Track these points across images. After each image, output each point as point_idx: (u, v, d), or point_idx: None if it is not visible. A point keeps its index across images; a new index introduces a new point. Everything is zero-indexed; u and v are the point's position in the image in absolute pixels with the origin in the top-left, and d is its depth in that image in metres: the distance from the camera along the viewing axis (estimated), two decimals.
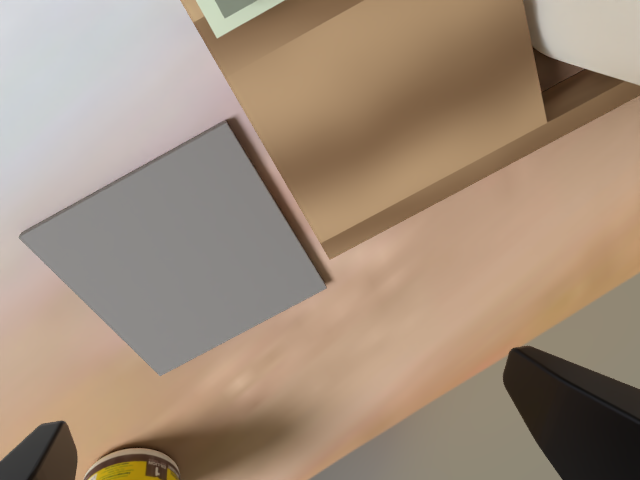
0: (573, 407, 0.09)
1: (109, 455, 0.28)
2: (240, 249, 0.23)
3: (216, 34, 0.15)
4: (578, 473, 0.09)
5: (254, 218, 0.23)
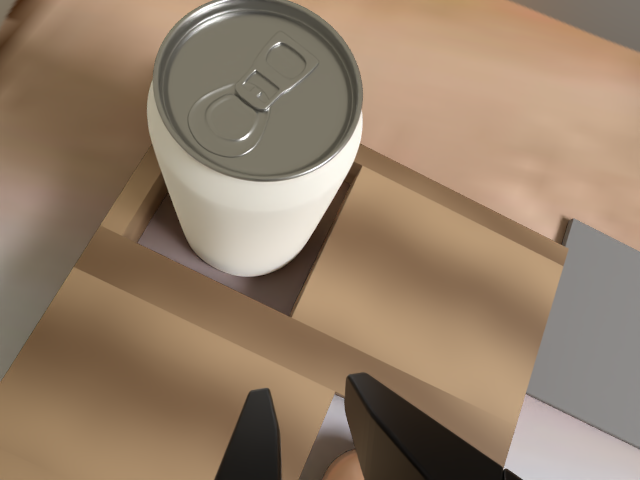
0: (380, 445, 0.08)
1: None
2: (594, 311, 0.26)
3: None
4: None
5: (566, 318, 0.26)
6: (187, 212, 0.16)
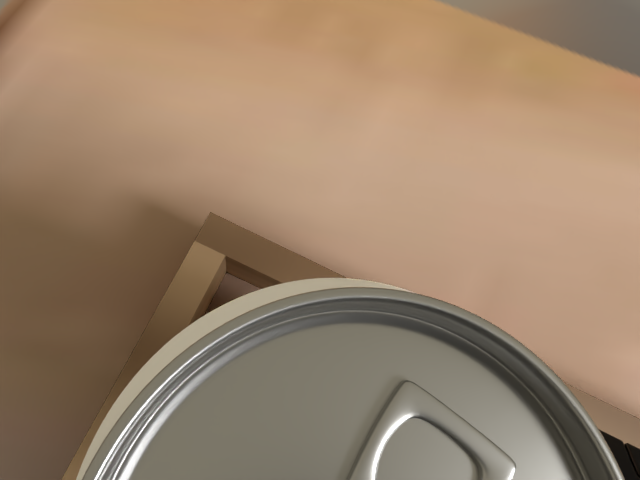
0: None
1: None
2: None
3: None
4: None
5: None
6: None
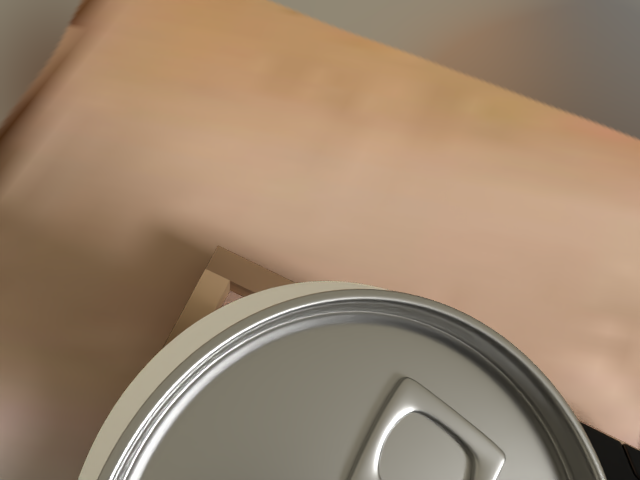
0: None
1: None
2: None
3: None
4: None
5: None
6: None
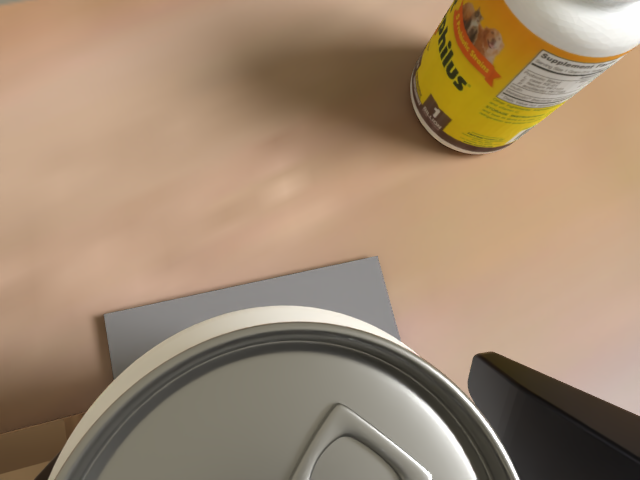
0: (531, 416, 0.09)
1: (480, 153, 0.21)
2: None
3: None
4: None
5: None
6: None
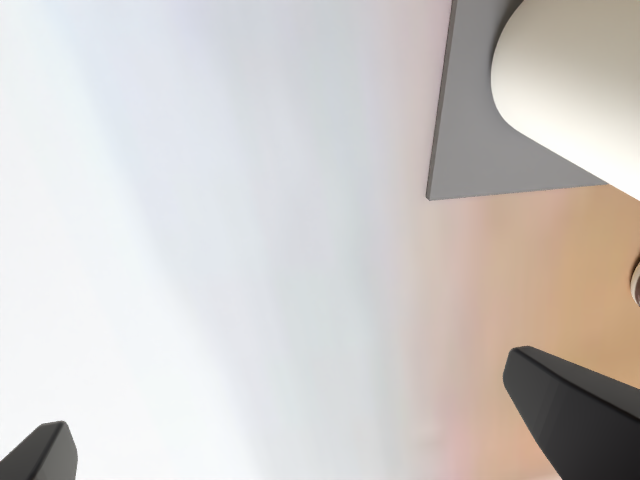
0: (574, 407, 0.09)
1: (637, 270, 0.28)
2: None
3: None
4: (578, 473, 0.09)
5: None
6: None
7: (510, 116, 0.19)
